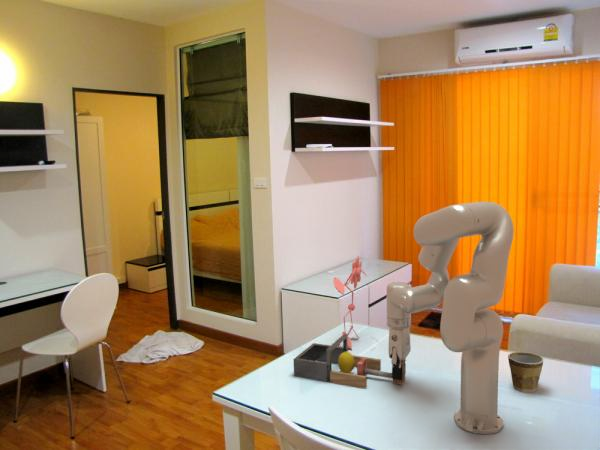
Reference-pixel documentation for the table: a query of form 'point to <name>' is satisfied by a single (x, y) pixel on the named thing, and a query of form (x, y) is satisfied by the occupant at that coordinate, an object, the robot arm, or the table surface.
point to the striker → (363, 371)
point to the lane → (353, 378)
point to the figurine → (339, 286)
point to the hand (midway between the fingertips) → (398, 376)
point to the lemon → (346, 362)
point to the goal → (309, 358)
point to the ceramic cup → (525, 370)
